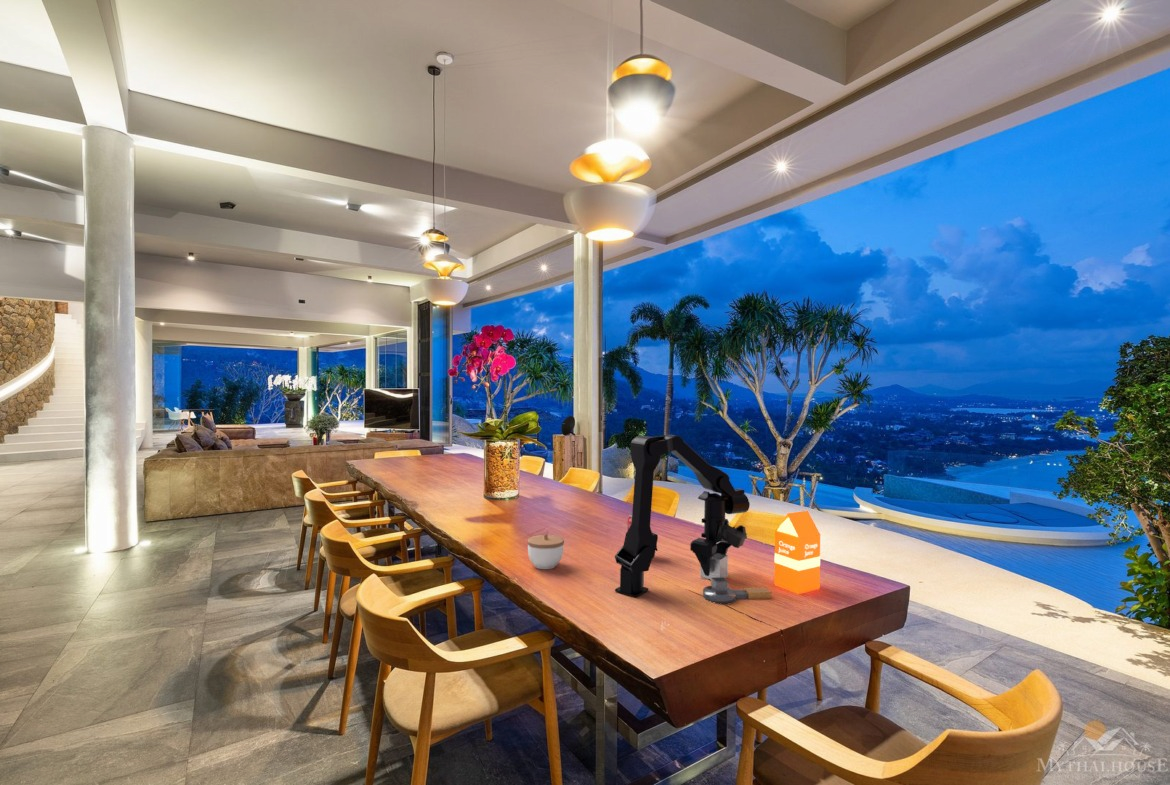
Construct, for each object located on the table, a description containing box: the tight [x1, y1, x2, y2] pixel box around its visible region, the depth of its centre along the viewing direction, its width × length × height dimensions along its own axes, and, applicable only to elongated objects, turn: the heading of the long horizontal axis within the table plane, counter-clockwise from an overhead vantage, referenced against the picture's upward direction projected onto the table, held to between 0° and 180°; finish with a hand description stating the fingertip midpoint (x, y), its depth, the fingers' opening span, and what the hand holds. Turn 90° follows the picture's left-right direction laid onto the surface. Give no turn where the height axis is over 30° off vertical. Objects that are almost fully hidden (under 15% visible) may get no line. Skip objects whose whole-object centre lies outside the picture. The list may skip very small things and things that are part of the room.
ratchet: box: [702, 577, 772, 605], centre depth 126 cm, size 17×8×4 cm, turn 97°
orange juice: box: [773, 510, 821, 595], centre depth 134 cm, size 8×9×20 cm
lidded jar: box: [527, 533, 565, 570], centre depth 147 cm, size 11×11×9 cm
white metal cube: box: [700, 553, 729, 581], centre depth 140 cm, size 6×6×6 cm
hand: (713, 571), depth 140 cm, fingers open, 9 cm apart
